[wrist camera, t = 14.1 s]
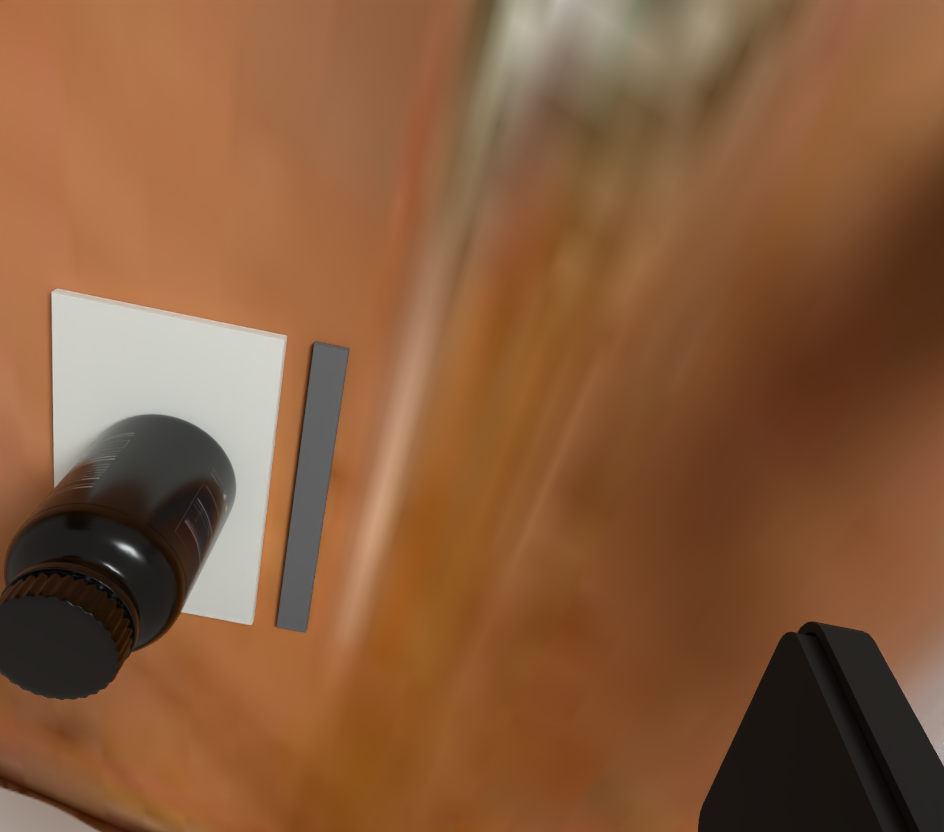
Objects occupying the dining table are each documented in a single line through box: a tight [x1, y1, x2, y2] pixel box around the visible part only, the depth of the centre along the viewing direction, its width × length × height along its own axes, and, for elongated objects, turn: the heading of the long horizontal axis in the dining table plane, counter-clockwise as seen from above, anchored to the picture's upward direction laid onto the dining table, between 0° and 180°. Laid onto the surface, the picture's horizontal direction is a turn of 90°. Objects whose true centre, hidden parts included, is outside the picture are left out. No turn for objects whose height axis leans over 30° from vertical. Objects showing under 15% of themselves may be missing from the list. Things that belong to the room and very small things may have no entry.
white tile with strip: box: [52, 289, 349, 633], centre depth 41 cm, size 13×16×1 cm
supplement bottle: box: [0, 414, 236, 700], centre depth 35 cm, size 7×7×12 cm
